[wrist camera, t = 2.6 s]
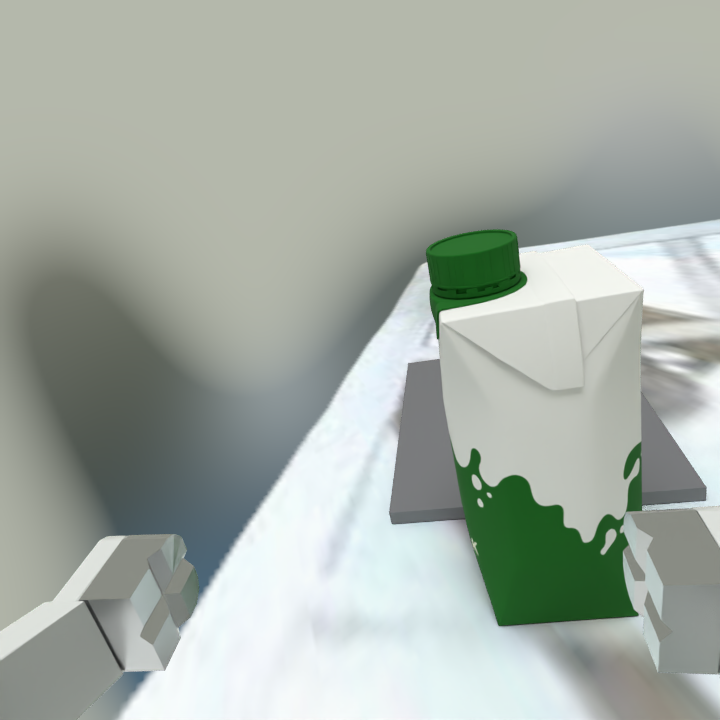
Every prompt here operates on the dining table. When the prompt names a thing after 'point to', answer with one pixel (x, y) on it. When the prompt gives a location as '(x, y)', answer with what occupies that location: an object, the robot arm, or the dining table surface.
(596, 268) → the soya milk
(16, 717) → the robot arm
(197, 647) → the dining table surface
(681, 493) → the mat
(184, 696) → the dining table surface
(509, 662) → the dining table surface
